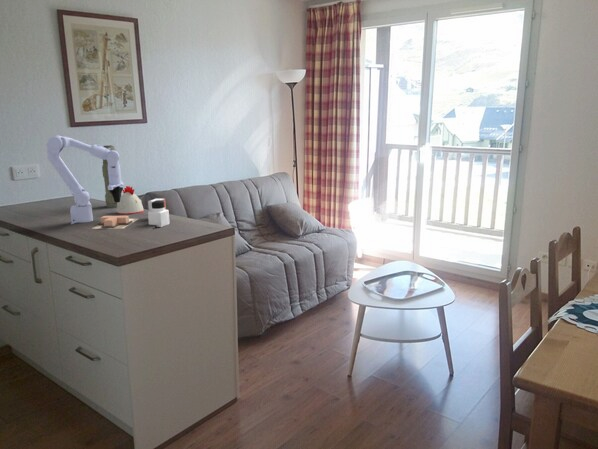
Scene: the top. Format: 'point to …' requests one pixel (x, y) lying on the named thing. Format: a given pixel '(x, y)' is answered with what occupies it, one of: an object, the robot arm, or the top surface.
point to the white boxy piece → (154, 200)
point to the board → (117, 226)
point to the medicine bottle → (158, 214)
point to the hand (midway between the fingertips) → (117, 202)
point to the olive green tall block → (108, 196)
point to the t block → (114, 220)
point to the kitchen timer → (129, 202)
